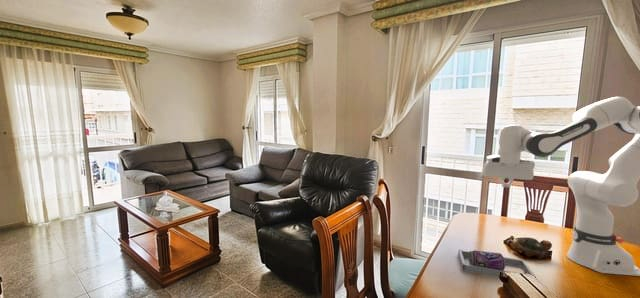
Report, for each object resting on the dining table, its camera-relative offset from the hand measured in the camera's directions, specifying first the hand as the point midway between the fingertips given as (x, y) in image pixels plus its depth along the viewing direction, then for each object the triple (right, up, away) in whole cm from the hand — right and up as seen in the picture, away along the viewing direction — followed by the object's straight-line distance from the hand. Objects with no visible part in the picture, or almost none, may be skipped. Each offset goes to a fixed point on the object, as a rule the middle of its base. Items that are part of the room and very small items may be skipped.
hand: (505, 187), depth 130 cm
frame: (-16, -32, -16) cm, 39 cm away
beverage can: (-14, -28, -19) cm, 37 cm away
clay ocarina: (+7, -31, -6) cm, 32 cm away
